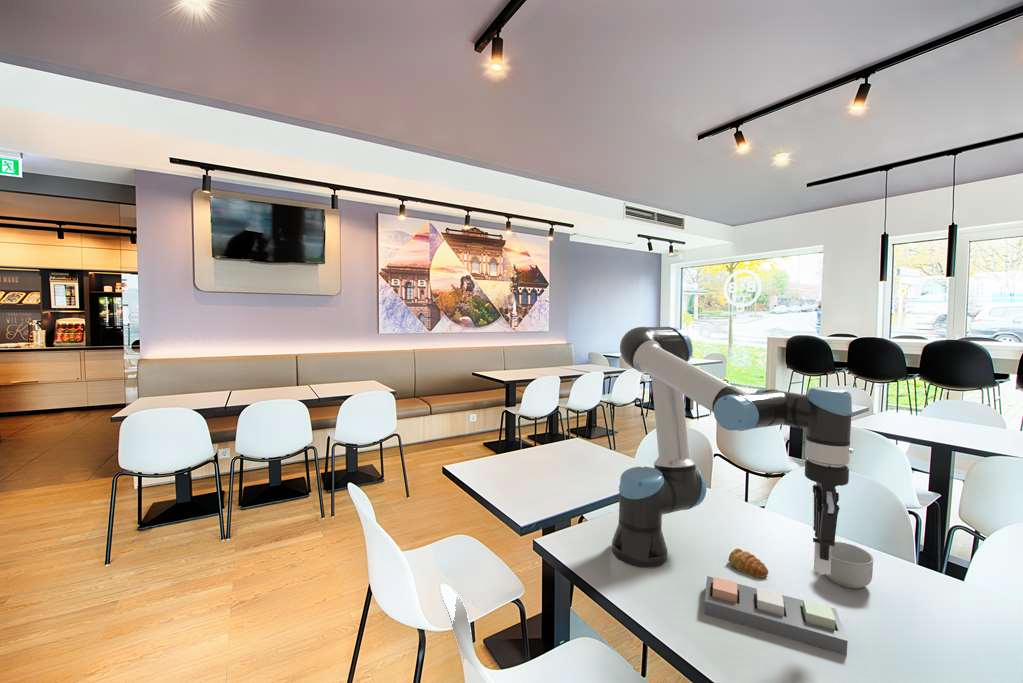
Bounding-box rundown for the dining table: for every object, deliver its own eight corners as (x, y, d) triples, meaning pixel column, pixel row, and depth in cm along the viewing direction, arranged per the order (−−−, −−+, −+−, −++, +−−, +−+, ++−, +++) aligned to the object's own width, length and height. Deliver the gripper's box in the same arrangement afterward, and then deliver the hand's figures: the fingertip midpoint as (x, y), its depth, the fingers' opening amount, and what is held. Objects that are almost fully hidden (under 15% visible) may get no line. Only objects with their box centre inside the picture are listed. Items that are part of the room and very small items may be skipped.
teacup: (881, 597, 106) (883, 565, 105) (831, 591, 108) (833, 559, 108) (849, 565, 119) (851, 537, 119) (805, 560, 122) (807, 532, 121)
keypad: (704, 613, 99) (704, 601, 98) (706, 587, 108) (707, 575, 108) (846, 655, 87) (847, 640, 87) (835, 621, 97) (835, 608, 97)
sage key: (806, 624, 92) (806, 612, 92) (802, 610, 97) (803, 599, 97) (834, 632, 90) (835, 620, 90) (830, 617, 95) (830, 606, 95)
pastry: (774, 575, 114) (774, 561, 114) (758, 582, 111) (758, 568, 111) (740, 558, 123) (741, 544, 123) (725, 564, 120) (725, 550, 119)
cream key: (757, 610, 96) (757, 599, 96) (756, 598, 101) (756, 587, 101) (783, 618, 94) (784, 606, 94) (781, 604, 99) (782, 594, 99)
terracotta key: (712, 598, 100) (712, 588, 100) (713, 586, 105) (713, 576, 105) (736, 605, 98) (737, 594, 98) (736, 593, 103) (737, 582, 103)
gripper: (857, 474, 84) (851, 593, 85) (841, 456, 96) (837, 561, 97) (810, 467, 88) (805, 582, 89) (801, 451, 99) (797, 553, 100)
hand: (822, 571), depth 93 cm, fingers closed
